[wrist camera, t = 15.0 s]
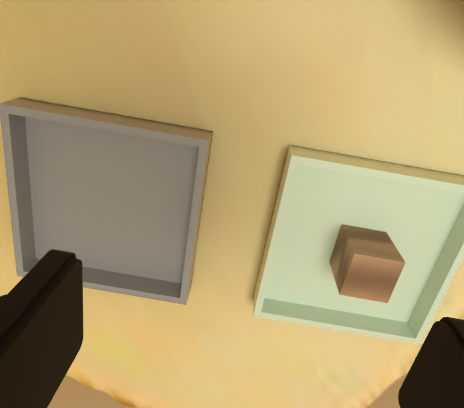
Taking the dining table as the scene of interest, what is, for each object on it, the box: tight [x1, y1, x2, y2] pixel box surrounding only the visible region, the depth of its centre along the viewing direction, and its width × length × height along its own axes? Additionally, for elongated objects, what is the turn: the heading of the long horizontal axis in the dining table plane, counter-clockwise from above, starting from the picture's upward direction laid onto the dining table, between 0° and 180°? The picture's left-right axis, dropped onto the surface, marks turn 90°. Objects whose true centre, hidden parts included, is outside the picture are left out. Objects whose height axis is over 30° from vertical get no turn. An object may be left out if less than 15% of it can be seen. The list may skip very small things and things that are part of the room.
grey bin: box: [0, 98, 213, 305], centre depth 41 cm, size 20×20×4 cm
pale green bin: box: [253, 145, 464, 345], centre depth 41 cm, size 20×20×4 cm
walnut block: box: [329, 224, 405, 303], centre depth 40 cm, size 5×5×6 cm
